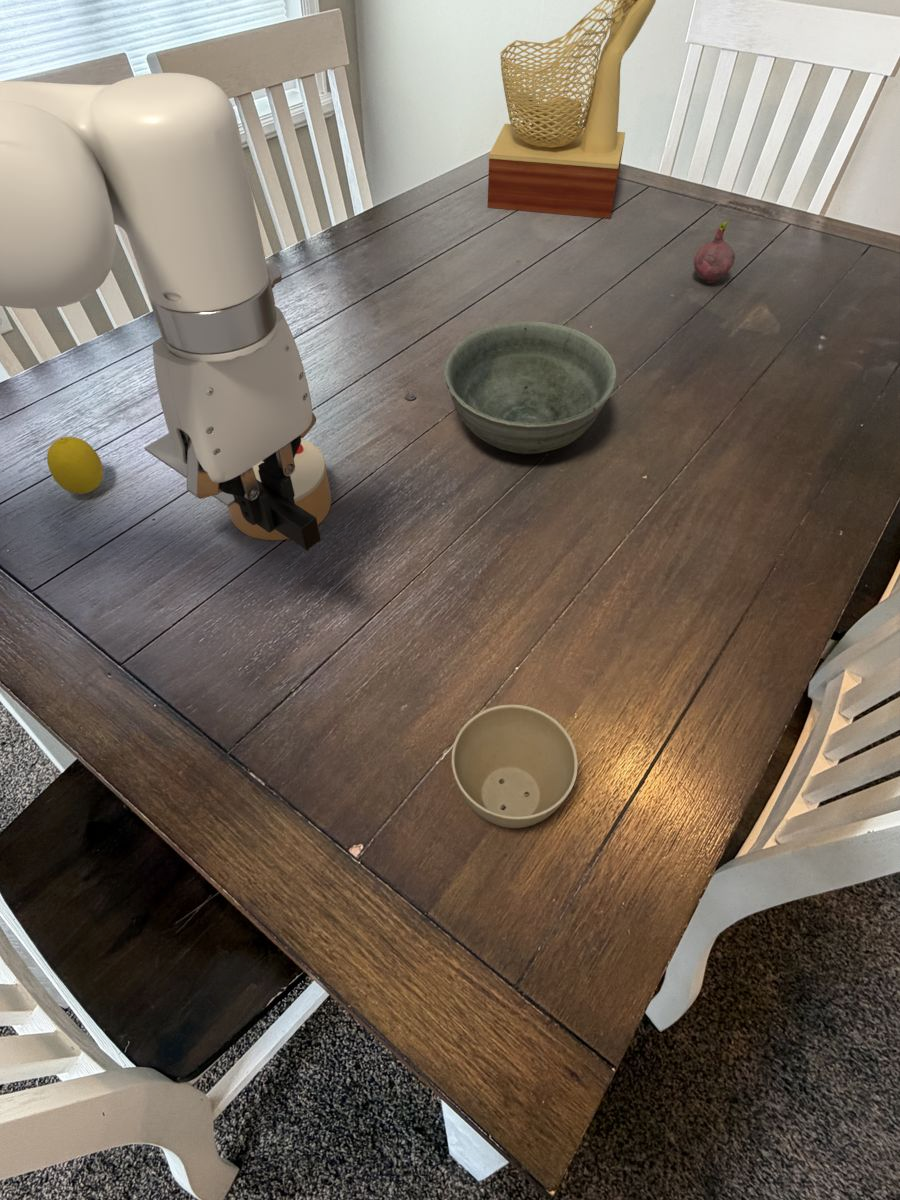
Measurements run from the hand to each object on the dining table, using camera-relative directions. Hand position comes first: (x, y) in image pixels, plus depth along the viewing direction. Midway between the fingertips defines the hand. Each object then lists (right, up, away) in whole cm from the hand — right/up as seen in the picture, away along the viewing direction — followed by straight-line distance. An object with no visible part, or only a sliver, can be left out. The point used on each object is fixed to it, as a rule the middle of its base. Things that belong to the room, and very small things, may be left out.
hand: (271, 514), depth 61 cm
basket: (+36, +71, +80) cm, 113 cm away
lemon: (-29, +6, +28) cm, 40 cm away
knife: (-4, +2, +2) cm, 5 cm away
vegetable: (+57, +45, +59) cm, 94 cm away
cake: (-5, +4, +26) cm, 27 cm away
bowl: (+25, +14, +34) cm, 45 cm away
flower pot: (+20, -24, +2) cm, 32 cm away
